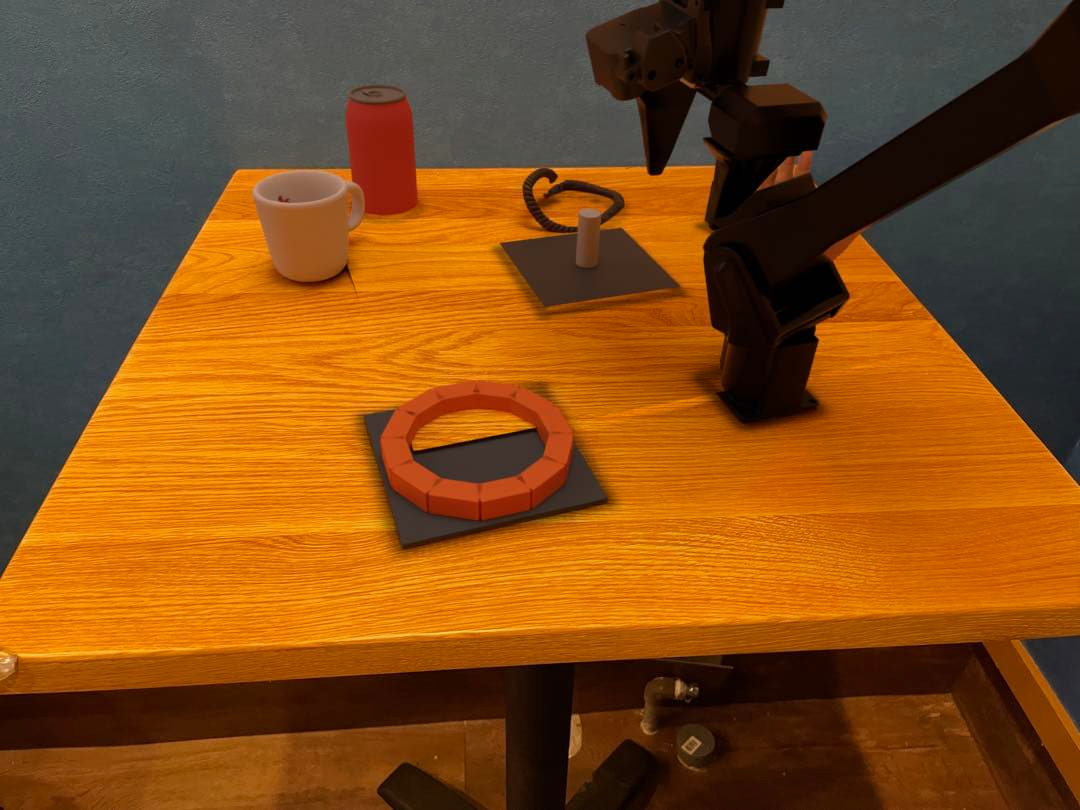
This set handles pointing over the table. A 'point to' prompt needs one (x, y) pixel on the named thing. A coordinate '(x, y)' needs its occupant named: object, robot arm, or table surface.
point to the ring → (465, 495)
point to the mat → (480, 480)
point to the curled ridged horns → (558, 188)
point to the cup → (308, 221)
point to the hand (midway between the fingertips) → (683, 200)
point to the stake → (586, 264)
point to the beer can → (382, 148)
